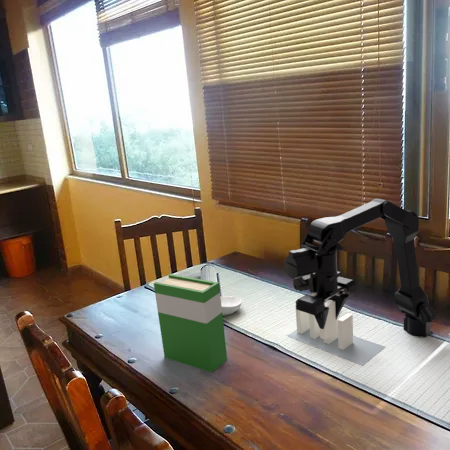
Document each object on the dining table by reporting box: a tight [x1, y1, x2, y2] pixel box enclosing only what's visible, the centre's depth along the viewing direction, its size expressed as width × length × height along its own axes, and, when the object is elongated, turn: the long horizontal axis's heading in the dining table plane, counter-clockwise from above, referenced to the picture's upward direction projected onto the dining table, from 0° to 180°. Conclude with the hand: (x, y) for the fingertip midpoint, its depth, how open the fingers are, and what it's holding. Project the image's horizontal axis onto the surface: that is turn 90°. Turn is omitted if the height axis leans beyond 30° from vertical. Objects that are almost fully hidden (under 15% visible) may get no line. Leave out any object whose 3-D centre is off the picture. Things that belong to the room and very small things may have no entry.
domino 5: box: [338, 312, 354, 350], centre depth 132 cm, size 2×5×9 cm, turn 133°
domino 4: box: [324, 316, 339, 344], centre depth 136 cm, size 2×5×9 cm, turn 133°
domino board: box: [286, 329, 386, 367], centre depth 137 cm, size 26×12×1 cm, turn 43°
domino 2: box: [309, 314, 320, 339], centre depth 140 cm, size 2×5×9 cm, turn 133°
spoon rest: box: [220, 295, 243, 316], centre depth 160 cm, size 24×12×7 cm, turn 139°
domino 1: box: [295, 308, 310, 334], centre depth 143 cm, size 2×5×9 cm, turn 133°
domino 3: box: [320, 300, 336, 340], centre depth 122 cm, size 2×5×9 cm, turn 133°
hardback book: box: [153, 273, 228, 374], centre depth 133 cm, size 18×7×24 cm, turn 56°
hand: (327, 324), depth 122 cm, fingers closed on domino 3, 5 cm apart
